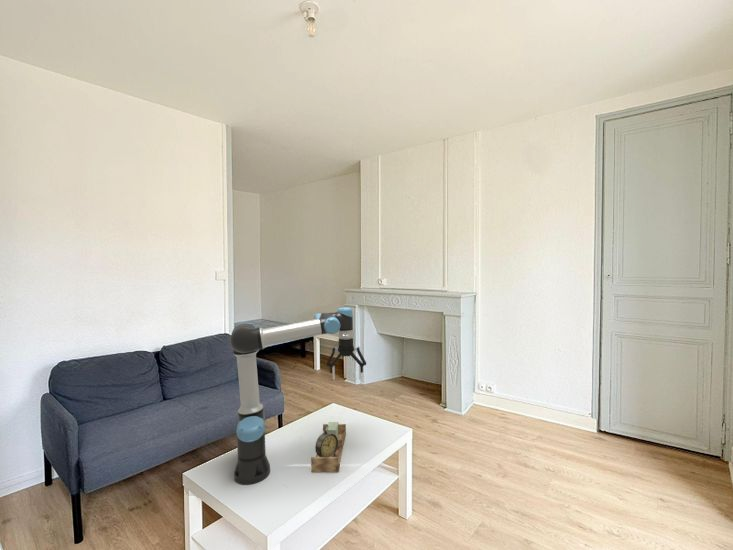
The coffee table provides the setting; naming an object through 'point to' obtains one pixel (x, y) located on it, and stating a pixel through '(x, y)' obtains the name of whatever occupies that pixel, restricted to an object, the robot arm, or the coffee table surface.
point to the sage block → (333, 428)
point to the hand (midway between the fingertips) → (346, 379)
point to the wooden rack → (330, 462)
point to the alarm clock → (326, 444)
